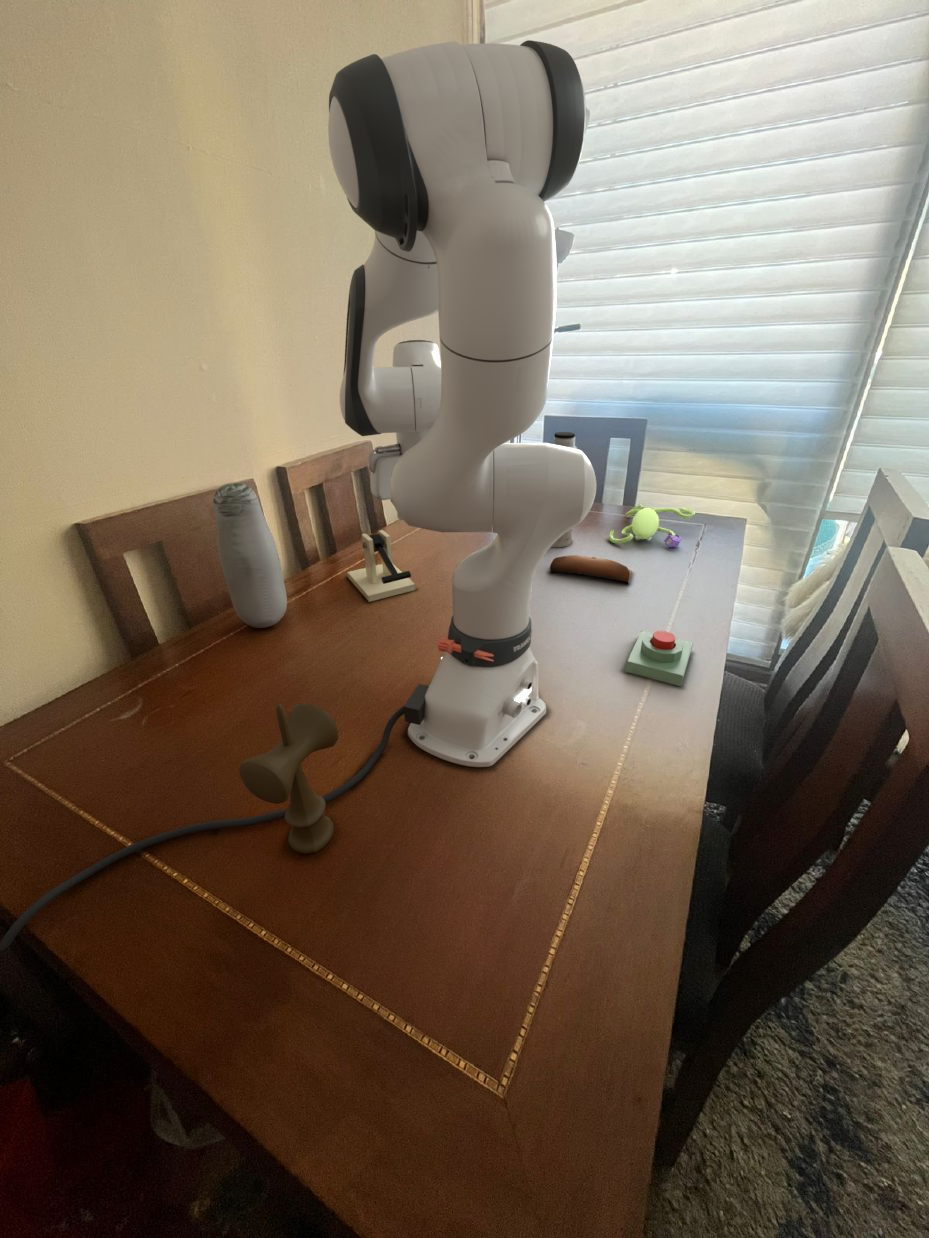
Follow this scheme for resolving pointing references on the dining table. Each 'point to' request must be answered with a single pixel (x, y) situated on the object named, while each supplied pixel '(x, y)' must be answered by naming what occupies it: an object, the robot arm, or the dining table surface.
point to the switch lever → (387, 561)
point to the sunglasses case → (591, 567)
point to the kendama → (295, 775)
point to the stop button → (663, 640)
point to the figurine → (650, 525)
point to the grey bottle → (249, 557)
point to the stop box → (659, 660)
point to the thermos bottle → (568, 441)
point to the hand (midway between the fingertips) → (425, 514)
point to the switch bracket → (377, 573)
